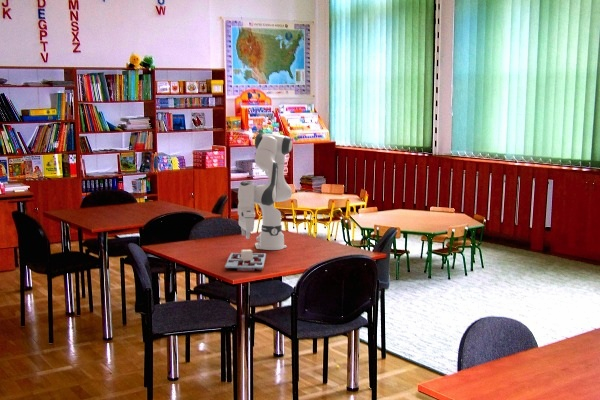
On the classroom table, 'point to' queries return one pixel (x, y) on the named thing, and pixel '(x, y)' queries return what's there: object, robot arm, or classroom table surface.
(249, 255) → the cream cube
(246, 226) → the robot arm
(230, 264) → the maze game
